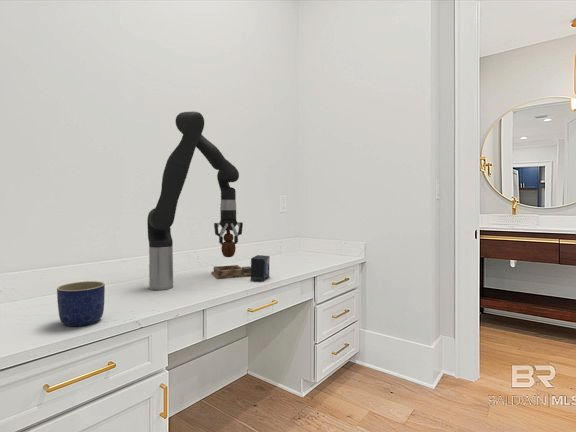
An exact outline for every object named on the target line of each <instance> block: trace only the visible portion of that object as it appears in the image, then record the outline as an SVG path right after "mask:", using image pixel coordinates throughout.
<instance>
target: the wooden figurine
mask: <svg viewBox="0 0 576 432" xmlns="http://www.w3.org/2000/svg"><path fill="white" fill-rule="evenodd" d="M225 232H226V233H224V234H223V236H222V237H223V244H222V245H221V247H220V249H221V254H222V256H223V257H224V258H232V257H234V256H235V254H236V244H235V243H234V235H233V234H234V233H233V234H232V233H231V230H228V227H227V231H226V230H225Z"/></svg>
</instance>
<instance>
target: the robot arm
mask: <svg viewBox="0 0 576 432" xmlns="http://www.w3.org/2000/svg"><path fill="white" fill-rule="evenodd" d="M175 126H176V128H177V130H178V131H179V132H180V133H181V134H182V136H181V139H180V141H179V143H178V144H177V146H175V148H174V149H173V151H172V152H171V153H170V155H169V157H168V158H167V160H166V164H165V167H164V169H163V173H162V180H161V190H160V195H159V199H158V200H157V203H156V206H155V207H154V208H152V209H151V210H150V211H149V212H148V214H147V220H146V222H147V224H146V225H147V240H148V255H149V256H148V260H149V261H148V263H149V264H148V272H149V273H148V279H149V280H148V283H149V290H155V291H163V290H168V289H173V287H174V254H173V253H174V249H173V248H174V247H173V241H174V240H173V237H172V233H171V232H172V231H171V229H172V227H173V224H174V222H175V217H176V211H177V206H178V203H179V199H180V196H181V193H182V190H183V188H184V185H185V182H186V179H187V176H188V173H189V169H190V166H191V163H192V159H193V157H194V154H195V150H196V149H198V151H199V152H200V153H201V154H202V155H203V156H204V158H205V159H206V160H207V161H208V163H209V164H210V165H211V166H212V168H213V169H214V170H216V171H217V173H216V174H217V175H216V177H217V183H218V187H219V189H220V204H219V205H220V208H219V209H220V212H219V213H220V220H219V222H213V226H214V227H213V228H214V235H215V236H218V243H219V244H220V245H221V246H222V244H223V242H224V238H223V237H224V234H225V232H226V231H227V227H228V230H230V231H232V233H233V234H234V235H233V242H234V243H235V245H237V244H238V242H239V236H241V235H242V234H243V225H244V223H243V222H238V220H237V201H236V198H237V197H236V194H237V193H236V189H235V187H232V186H230V183H235V182H237V181H238V180H239V178H240V173H239V171H238V169H237V168H236V166H235V165H234V164H232V163H231V162H230V161H229V160H228V159H226V158H225V155H224V154H223V153H222V152H221V151H220V150H219V148H218V147H217V146H216V145H215V144H214V143H212V142H211V141H210V140H208V139H207V138H206V137H205V136H204V135H203V131H204V128H205V117H204V115H202V113H201V112H199V111H183V112H180V113H178V114H177V115H176V117H175ZM236 226H237V227H238V231H237V229H236ZM219 227H221V229H220V230H219ZM219 231H220V232H219Z"/></svg>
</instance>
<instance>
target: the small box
mask: <svg viewBox="0 0 576 432" xmlns="http://www.w3.org/2000/svg"><path fill="white" fill-rule="evenodd" d="M250 267H251V276H250V282H260V283H263V282H265V281H266V280H268V279H269V278H270V255H259V254H257V255H255V256H252V257H251V258H250Z"/></svg>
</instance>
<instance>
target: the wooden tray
mask: <svg viewBox="0 0 576 432" xmlns="http://www.w3.org/2000/svg"><path fill="white" fill-rule="evenodd" d="M211 275H212V276H213V277H214V278H215V279H217V280H221V279H223V280H224V279H236V278H247V277H250V278H251V265H250V266H240V265H238V264H233V265H218V266H216V265H215V266H213V271H211Z"/></svg>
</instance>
